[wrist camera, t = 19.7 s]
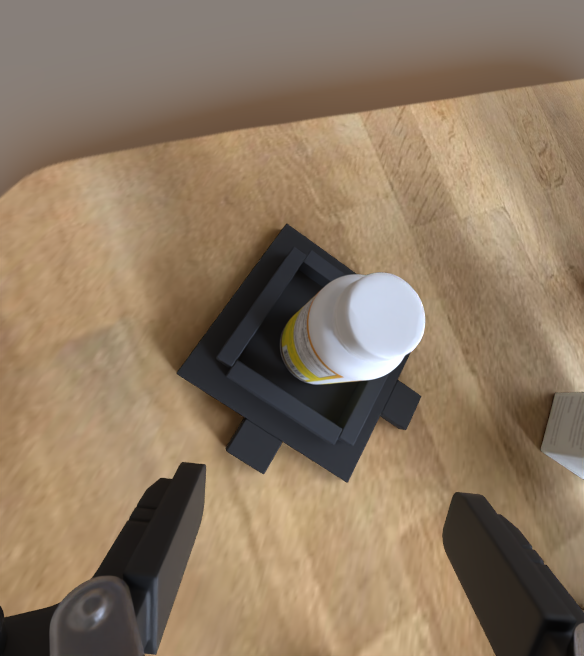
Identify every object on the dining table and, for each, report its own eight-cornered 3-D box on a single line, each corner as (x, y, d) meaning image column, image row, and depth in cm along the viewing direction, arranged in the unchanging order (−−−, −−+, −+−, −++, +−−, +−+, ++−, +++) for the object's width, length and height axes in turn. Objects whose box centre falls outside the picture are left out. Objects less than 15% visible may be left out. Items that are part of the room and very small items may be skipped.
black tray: (154, 405, 21) (148, 406, 19) (283, 229, 26) (291, 212, 24) (353, 528, 23) (370, 544, 21) (439, 341, 28) (460, 336, 26)
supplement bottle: (355, 324, 25) (450, 280, 15) (338, 394, 24) (431, 394, 14) (289, 300, 24) (346, 236, 14) (267, 371, 23) (313, 353, 13)
